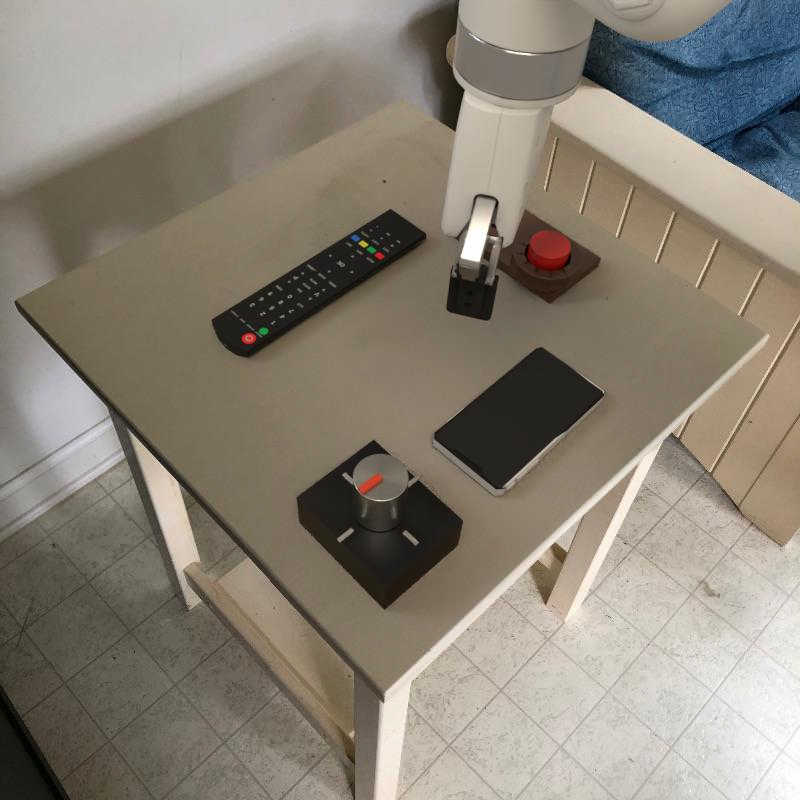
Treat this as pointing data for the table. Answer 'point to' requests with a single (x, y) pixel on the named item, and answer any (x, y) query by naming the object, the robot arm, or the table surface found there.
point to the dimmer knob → (380, 492)
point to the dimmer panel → (379, 551)
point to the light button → (548, 250)
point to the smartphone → (517, 420)
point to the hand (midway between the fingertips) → (483, 267)
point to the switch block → (540, 280)
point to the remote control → (315, 283)
